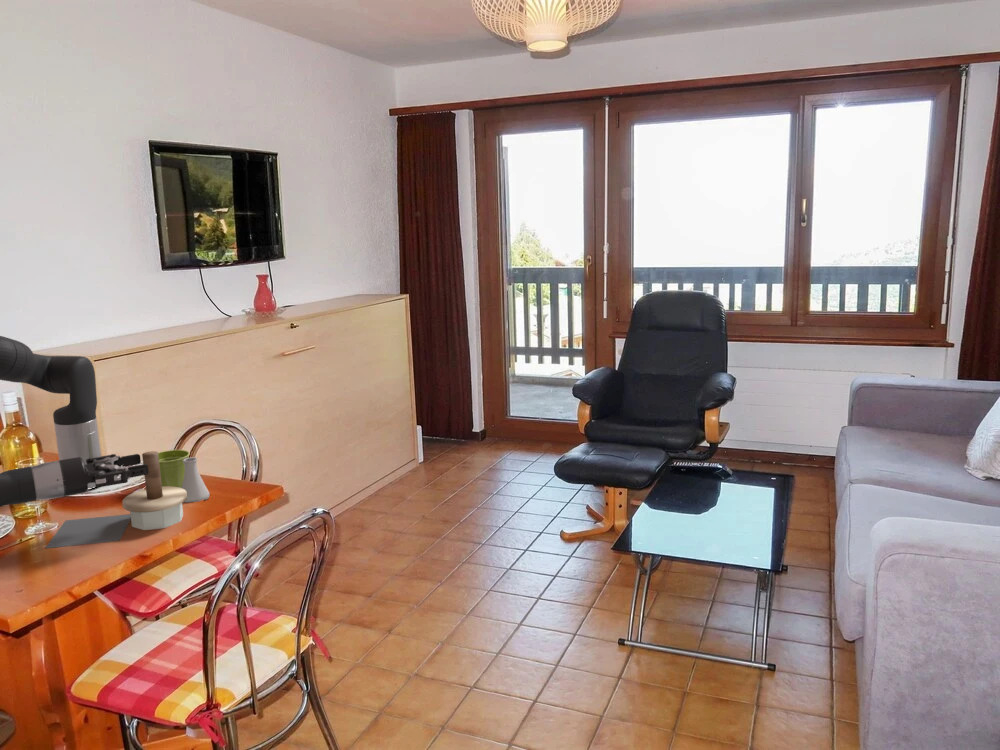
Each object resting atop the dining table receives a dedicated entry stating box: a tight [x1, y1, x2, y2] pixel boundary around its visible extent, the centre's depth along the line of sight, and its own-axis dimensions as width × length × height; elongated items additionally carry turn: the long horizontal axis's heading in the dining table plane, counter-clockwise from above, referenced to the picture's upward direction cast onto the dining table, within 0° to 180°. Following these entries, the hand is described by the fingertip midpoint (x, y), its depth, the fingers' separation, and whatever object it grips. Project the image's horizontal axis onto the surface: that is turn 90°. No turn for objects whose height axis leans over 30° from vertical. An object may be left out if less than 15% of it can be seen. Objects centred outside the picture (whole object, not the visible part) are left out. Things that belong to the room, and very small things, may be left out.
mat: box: [45, 513, 131, 549], centre depth 168 cm, size 15×14×1 cm
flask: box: [181, 456, 211, 503], centre depth 186 cm, size 7×7×10 cm
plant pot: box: [158, 449, 191, 488], centre depth 193 cm, size 9×9×9 cm
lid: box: [122, 450, 187, 512], centre depth 171 cm, size 13×13×11 cm
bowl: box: [129, 503, 184, 531], centre depth 173 cm, size 10×10×5 cm
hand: (144, 463), depth 169 cm, fingers open, 8 cm apart
